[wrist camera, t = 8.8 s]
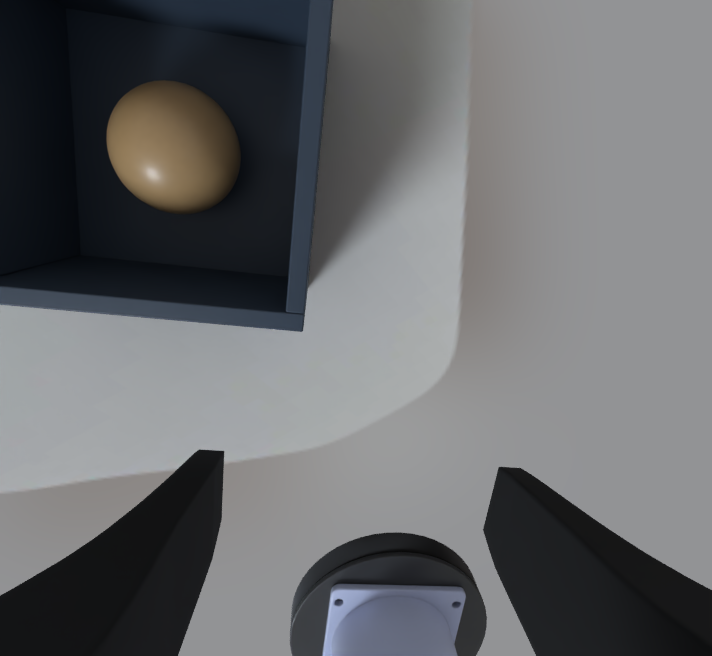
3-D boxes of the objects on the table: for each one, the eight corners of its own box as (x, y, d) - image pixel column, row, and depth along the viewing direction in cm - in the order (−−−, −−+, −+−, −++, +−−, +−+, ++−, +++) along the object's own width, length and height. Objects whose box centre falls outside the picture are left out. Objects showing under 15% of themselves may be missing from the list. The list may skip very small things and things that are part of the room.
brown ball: (245, 217, 19) (227, 224, 14) (136, 205, 18) (85, 208, 14) (250, 105, 17) (233, 76, 13) (133, 87, 17) (76, 51, 13)
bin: (307, 289, 20) (302, 332, 14) (72, 266, 19) (-44, 301, 13) (330, 37, 17) (336, -47, 11) (54, -9, 16) (-108, -132, 10)
